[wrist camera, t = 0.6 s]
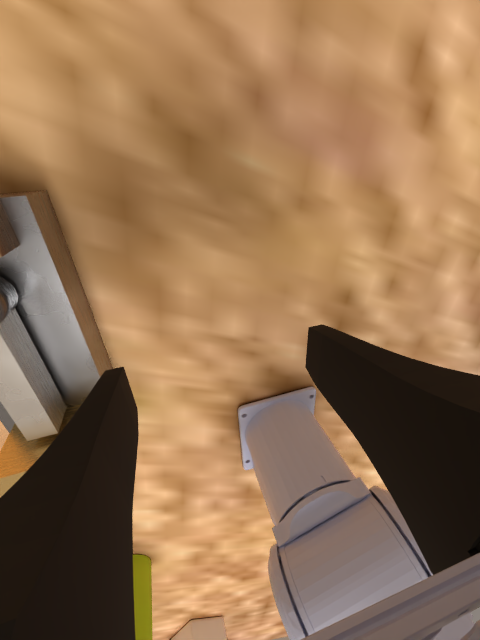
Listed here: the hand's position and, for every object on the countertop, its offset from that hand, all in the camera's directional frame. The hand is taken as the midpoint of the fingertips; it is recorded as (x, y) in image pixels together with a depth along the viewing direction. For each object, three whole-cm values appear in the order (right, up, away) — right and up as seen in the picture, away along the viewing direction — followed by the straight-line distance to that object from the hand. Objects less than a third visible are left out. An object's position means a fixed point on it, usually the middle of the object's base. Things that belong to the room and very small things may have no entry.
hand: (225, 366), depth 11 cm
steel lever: (-11, 0, +4) cm, 12 cm away
